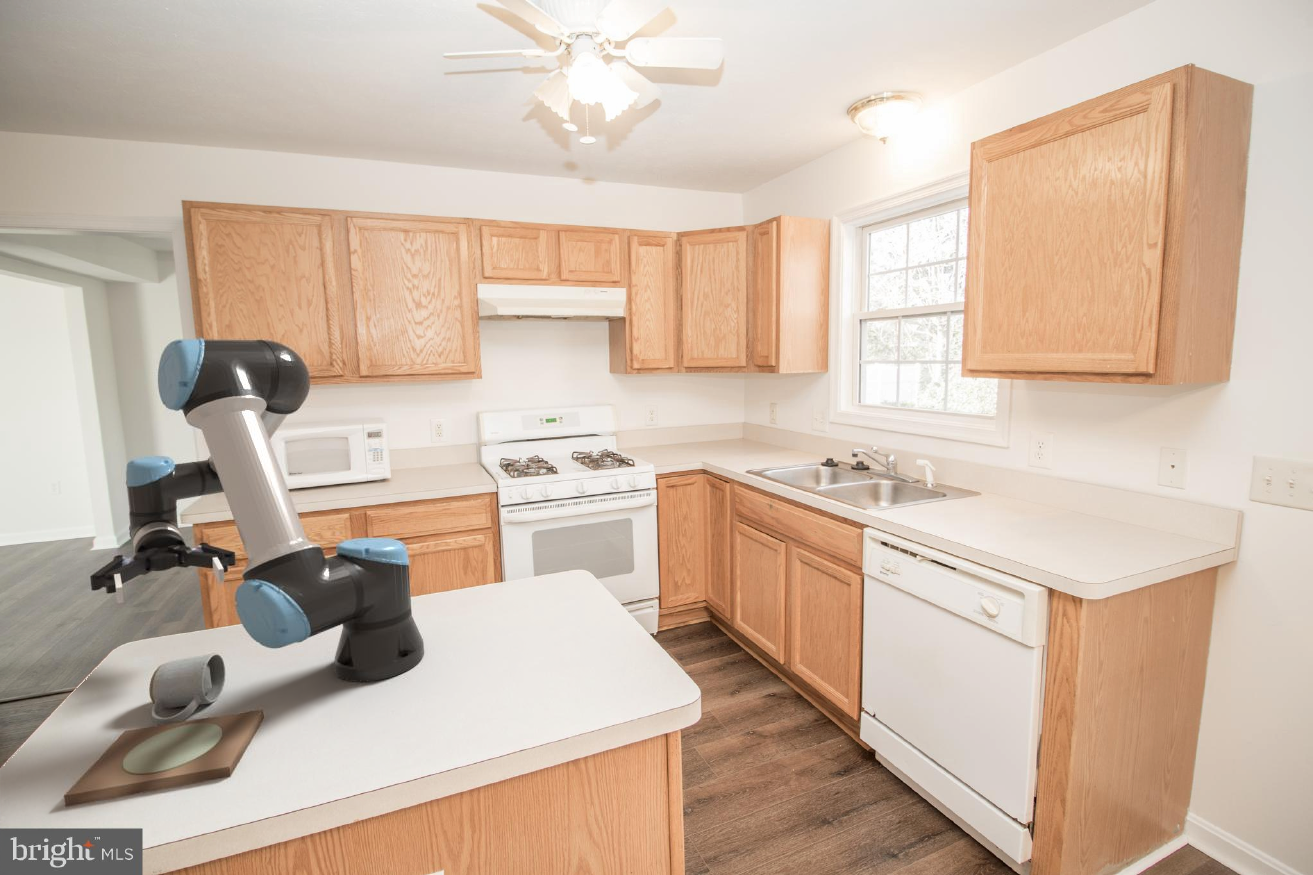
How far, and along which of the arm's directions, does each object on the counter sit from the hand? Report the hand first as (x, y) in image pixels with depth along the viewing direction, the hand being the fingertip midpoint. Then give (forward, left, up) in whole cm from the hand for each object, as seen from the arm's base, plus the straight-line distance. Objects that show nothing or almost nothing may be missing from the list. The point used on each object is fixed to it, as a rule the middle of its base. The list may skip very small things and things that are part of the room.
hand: (173, 585), depth 103 cm
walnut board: (-8, +23, -18) cm, 30 cm away
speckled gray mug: (-4, +9, -18) cm, 20 cm away
